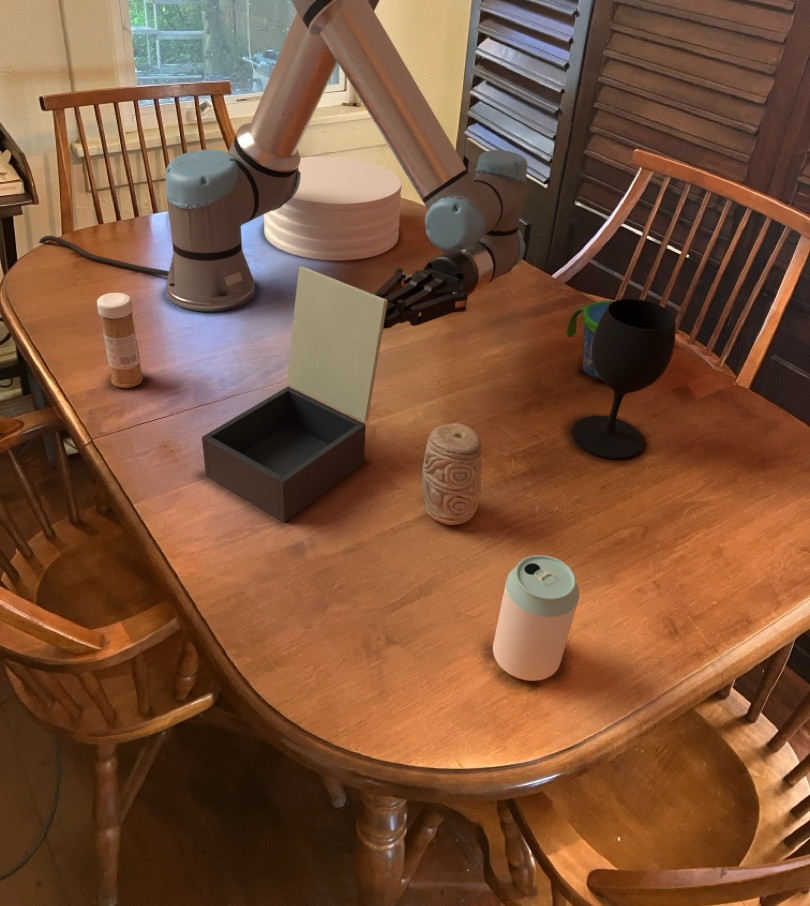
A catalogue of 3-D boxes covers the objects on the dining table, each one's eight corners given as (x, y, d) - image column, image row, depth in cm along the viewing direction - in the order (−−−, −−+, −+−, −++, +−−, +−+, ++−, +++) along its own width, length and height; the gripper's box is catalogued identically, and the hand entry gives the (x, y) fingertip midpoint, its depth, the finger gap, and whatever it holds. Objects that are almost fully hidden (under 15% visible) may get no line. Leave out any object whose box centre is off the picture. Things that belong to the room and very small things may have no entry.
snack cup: (546, 359, 133) (557, 303, 126) (588, 342, 138) (600, 288, 132) (621, 403, 123) (637, 345, 117) (662, 383, 129) (679, 327, 123)
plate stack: (368, 271, 155) (370, 213, 148) (239, 242, 161) (236, 186, 155) (416, 223, 176) (420, 171, 169) (301, 200, 183) (300, 148, 176)
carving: (433, 488, 104) (442, 412, 97) (485, 510, 101) (498, 433, 94) (408, 515, 99) (416, 437, 92) (462, 539, 97) (474, 461, 89)
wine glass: (601, 467, 110) (636, 339, 98) (556, 426, 117) (584, 302, 105) (658, 450, 114) (699, 325, 102) (612, 411, 121) (645, 290, 109)
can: (489, 677, 81) (506, 596, 74) (494, 625, 86) (511, 544, 79) (559, 690, 80) (583, 609, 73) (560, 636, 86) (582, 556, 78)
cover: (384, 301, 95) (388, 300, 96) (298, 266, 101) (302, 266, 102) (364, 422, 103) (367, 421, 104) (286, 384, 109) (289, 382, 109)
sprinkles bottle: (141, 371, 121) (129, 290, 113) (144, 387, 118) (132, 304, 110) (110, 375, 120) (95, 293, 112) (112, 391, 117) (97, 307, 108)
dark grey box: (284, 522, 97) (283, 482, 93) (205, 476, 103) (201, 436, 99) (364, 462, 107) (366, 424, 104) (288, 423, 113) (287, 386, 109)
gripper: (491, 309, 121) (399, 370, 105) (420, 283, 127) (323, 337, 111) (498, 262, 117) (403, 319, 101) (424, 237, 122) (324, 287, 106)
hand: (361, 328), depth 106 cm, fingers closed
